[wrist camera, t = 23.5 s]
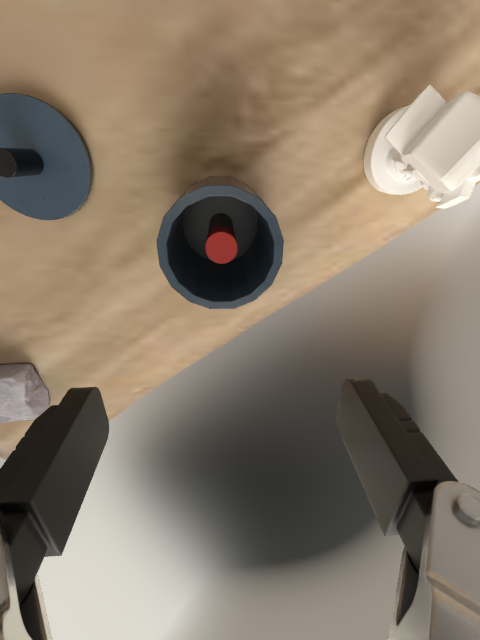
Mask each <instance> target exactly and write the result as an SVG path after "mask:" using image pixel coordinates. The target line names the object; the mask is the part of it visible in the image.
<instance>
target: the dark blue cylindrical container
mask: <svg viewBox="0 0 480 640" xmlns="http://www.w3.org/2000/svg"><path fill="white" fill-rule="evenodd" d="M218 213H224V214H226V215H228V216H229V217H230V218H231V220H232V223H233V228H234V233H235V236H236V241H237V246H238V250H237V254H236V256H235V257H234V259H233V260H231V261H230V262H228V263H224V264H219V263H215V262H213V261H212V260H211V259H210V258H209V257H208V256H207V254H206V250H205V245H206V239H207V235H208V229H209V223H210V220H211V218H212V217H213V216H214V215H215V214H218ZM283 243H284V240H283V237H282V234H281V231H280V228H279V225H278V222H277V219H276V216H275V215H274V214H273V213H272V211H271V210H270V209H269V208H268V207H267V206H266V205H265V204H264V203H263V201H262V200H261V199H260V198H259V197H258V196H257V195H256V194H255V193H254V192H253V191H252V190H251V189H250V188H249V187H248V186H247V185H246V184H244V183H242V182H240V181H238V180H236V179H233V178H231V177H228V176H211V177H208V178H205V179H203V180H201V181H199V182H197V183H195V184H193V185H192V186H191V187H190V188H189V189H188V190H187V191H186V192H185V193H184V194H183V195H182V196H181V197H180V198H179V199H178V200H177V202H176V203H175V204H174V205H173V206H172V208H171V209H170V210H169V211H168V212H167V213H166V215H165V216H164V217H163V221H162V224H161V228H160V231H159V235H158V238H157V249H158V257H159V264H160V267H161V269H162V271H163V273H164V274H165V276H166V278H167V280H168V282H169V283H170V285H171V287H172V288H174V289H175V290H176V291H177V292H178V293H180V294H181V295H182V296H183V297H185V298H186V299H187V300H188V301H190V302H192V303H195V304H198V305H201V306H203V307H206V308H209V309H233V308H237V307H239V306H242V305H244V304H247V303H249V302H252V301H254V300H256V299H257V298H258V297H259V296H260V295H261V294H262V293H263V292H264V291H265V290H267V289H268V288H269V287H270V286H271V285H272V283H273V281H274V279H275V277H276V275H277V273H278V271H279V269H280V267H281V264H282V256H283Z"/></svg>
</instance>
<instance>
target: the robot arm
mask: <svg viewBox="0 0 480 640" xmlns="http://www.w3.org/2000/svg"><path fill="white" fill-rule="evenodd" d="M336 418H337V426H338V430H339V432H340V435H341V437H342V439H343V441H344V444H345V446H346V448H347V451H348V453H349V455H350V458H351V460H352V462H353V465H354V467H355V469H356V471H357V474H358V476H359V478H360V480H361V483H362V485H363V487H364V490H365V492H366V494H367V497H368V499H369V501H370V504H371V506H372V508H373V511H374V513H375V515H376V517H377V520H378V522H379V524H380V527H381V529H382V531H383V533H384V536H391V535H400V537H401V539H402V541H403V543H404V545H405V547H404V550H403V553H402V559H401V565H400V571H399V577H398V583H397V589H396V596H395V601H394V607H393V613H392V620H391V626H390V630H389V634H388V638H387V640H480V491H478V490H476V489H475V488H473V487H471V486H469V485H466V484H464V483H460V482H458V480H457V479H456V478H455V477H454V475H453V474H452V473H451V471H450V470H449V469H448V467H447V466H446V464H445V463H444V462H443V460H442V459H441V458H440V456H439V455H438V454H437V452H436V451H435V450H434V448H433V447H432V445H431V444H430V443H429V441H428V440H427V439H426V437H425V436H424V435H423V433H420V429H419V428H418V426H417V425H416V424H415V422H414V421H412V420H411V417H410V415H409V414H408V413H407V412H406V410H405V409H404V407H403V406H402V405H401V404H400V403H399V402H397V401H396V400H395V399H393V398H392V397H391V396H390V395H388V394H387V393H384V394H381V393H380V392H379V391H378V389H377V388H376V386H375V385H374V383H373V382H372V381H371V380H370V379H369V378H359V379H358V378H356V379H345V380H344V382H343V385H342V390H341V394H340V399H339V403H338V408H337V413H336ZM108 433H109V421H108V418H107V414H106V411H105V407H104V404H103V400H102V397H101V393H100V391H99V389H98V388H97V387H86V388H71V389H69V390H68V392H67V393H66V395H65V396H64V398H63V399H62V401H61V402H60V404H59V405H54V406H51V407H49V408H48V409H47V410H46V411H45V412H43V413H42V414H41V415H40V416H38V417H37V418H36V419H35V420H34V422H33V423H32V425H31V426H30V428H29V429H28V430H27V432H26V433H25V437H23V438H22V439H21V440H20V442H19V443H18V445H17V446H16V450H15V451H13V452H12V453H11V455H10V456H9V457H8V459H7V460H6V462H5V463H4V465H3V466H2V467H1V469H0V640H52V636H51V631H50V627H49V622H48V617H47V613H46V608H45V604H44V599H43V594H42V591H41V586H40V581H39V577H38V574H37V572H38V570H39V567H40V565H41V563H42V561H43V558H44V557H47V556H61V555H62V552H63V550H64V547H65V545H66V542H67V540H68V537H69V535H70V532H71V530H72V527H73V525H74V522H75V520H76V517H77V514H78V512H79V510H80V507H81V504H82V502H83V500H84V497H85V495H86V492H87V490H88V487H89V485H90V482H91V480H92V477H93V475H94V472H95V469H96V467H97V464H98V462H99V459H100V456H101V454H102V452H103V449H104V447H105V444H106V442H107V439H108Z"/></svg>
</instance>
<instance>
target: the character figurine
mask: <svg viewBox="0 0 480 640" xmlns="http://www.w3.org/2000/svg"><path fill="white" fill-rule="evenodd" d="M479 165H480V97H479V96H477V95H475V94H474V93H472V92H470V91H464V92H462V93H461V94H459V95H458V96H456V97H455V98H453V99H452V100H450V101H449V102H448V103H447V102H446V101H445V100H444V99H443V98H442V97H441V95H440V94H439V93H438V92H437V91H436V90H435V89H434V88H433V87H432V86H431V85H429V86H427V87H426V88H425V89H424V90H423V91H422V92H421V93H420V94H419V96H418V97H417V98H416V99H415V100H414V102H413V103H412V104H411V105H408V106H404V107H401V108H398V109H396V110H394V111H393V112H391V113H390V114H388V115H387V116H386V117H384V118H383V119H382V121H381V122H380V123H379V124H378V125H377V126H376V128H375V129H374V130H373V132H372V134H371V136H370V138H369V140H368V142H367V145H366V148H365V152H364V171H365V175H366V177H367V180H368V181H369V183H370V184H371V185H372V186H373V187H374V188H375V189H377V190H379V191H381V192H384V193H389V194H394V195H405V194H408V193H412V192H415V191H417V190H418V189H420V188H422V187H424V188H425V189H427V190H428V198H429V199H430V200H431V201H433V202H439V203H438V205H437V206H436V207H437V208H444V209H446V208H448V207H451V206H454V205H456V204H458V203H460V202H462V201H464V200H466V199H468V198H469V197H470V196H471V194H472V191H473V189H474V186H475V183H476V181H480V166H479Z"/></svg>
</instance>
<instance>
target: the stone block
mask: <svg viewBox="0 0 480 640" xmlns="http://www.w3.org/2000/svg"><path fill="white" fill-rule="evenodd" d="M48 404H49V396H48V389H47V388H46V387H45V385H44V384H43V382H42V381H41V379H40V377H39V375H38V374H37V372H36V371H35V370H34V367H33V366H32V365H31V364H8V365H0V423H4V422H10V421H13V420H14V421H21V420H34V419H36V418H37V417H38V416H40V415H41V414H42V413H43V412H45V411H46V409H47V407H48Z"/></svg>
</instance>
